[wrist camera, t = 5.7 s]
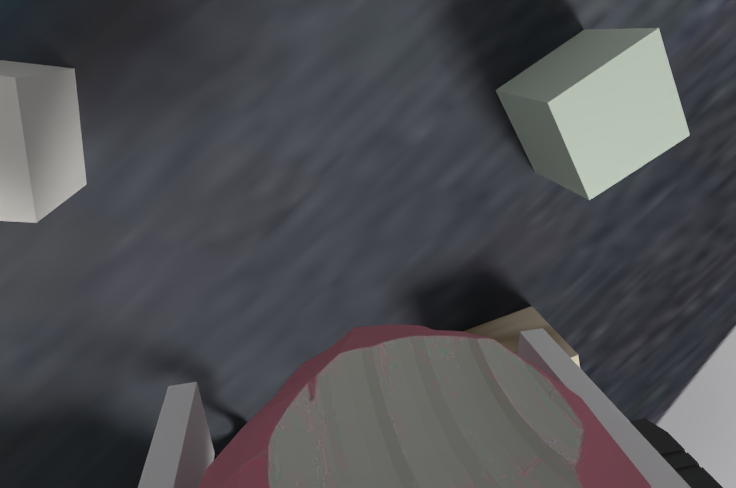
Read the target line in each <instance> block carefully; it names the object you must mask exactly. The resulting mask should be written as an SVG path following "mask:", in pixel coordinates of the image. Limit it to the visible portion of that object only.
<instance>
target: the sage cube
mask: <svg viewBox="0 0 736 488" xmlns="http://www.w3.org/2000/svg"><path fill="white" fill-rule="evenodd" d="M496 92H497V94H498V96H499V98H500V101H501V103H502V105H503V107H504V109H505V111H506V113H507V115H508V117H509V119H510V121H511V124H512V126H513V128H514V130H515V132H516V134H517V136H518V138H519V140H520V142H521V144H522V146H523V149H524V151H525V153H526V155H527V157H528V159H529V161H530V163H531V165H532V167H533V169H534V171H535V172H536V173H538V174H540V175H542V176H544V177H546V178H548V179H550V180H552V181H554V182H556V183H557V184H559V185H561V186H563V187H565V188H567V189H569V190H571V191H573V192H575V193H577V194H579V195H580V196H582V197H584V198H586V199H588V200H591V199H592V198H594V197H595V196H597V195H598V194H600V193H602V192H603V191H605V190H606V189H608V188H609V187H611V186H612V185H614V184H615V183H617V182H618V181H620V180H622V179H623V178H625V177H626V176H628V175H629V174H631V173H632V172H634V171H635V170H637V169H639V168H640V167H642V166H643V165H645V164H646V163H648V162H649V161H651V160H652V159H654V158H656V157H657V156H659V155H660V154H662V153H663V152H665V151H666V150H668V149H669V148H671V147H673V146H674V145H676V144H677V143H679V142H680V141H682V140H683V139H685V138H686V137H688V136H689V135H690V134H689V130H688V127H687V123H686V120H685V117H684V113H683V110H682V106H681V103H680V99H679V96H678V93H677V89H676V86H675V82H674V79H673V75H672V72H671V69H670V65H669V62H668V58H667V55H666V51H665V48H664V44H663V41H662V38H661V34H660V31H659V28H637V29H595V30H583V31H581V32H580V33H578V34H577V35H576V36H574V37H573V38H571V39H570V40H568V41H567V42H565V43H564V44H562V45H561V46H559V47H558V48H557V49H555V50H554V51H552V52H551V53H549V54H548V55H546V56H545V57H543V58H542V59H540V60H539V61H538V62H536V63H535V64H533V65H532V66H530V67H529V68H527V69H526V70H524V71H523V72H521V73H520V74H519V75H517V76H516V77H514V78H513V79H511V80H510V81H508V82H507V83H505V84H504V85H502V86H501V87H499V88H498V89H497V90H496Z"/></svg>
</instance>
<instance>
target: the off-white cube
mask: <svg viewBox="0 0 736 488" xmlns="http://www.w3.org/2000/svg"><path fill="white" fill-rule="evenodd" d="M85 185H86V175H85V165H84V156H83V146H82V136H81V126H80V117H79V107H78V97H77V88H76V78H75V69H74V68H65V67H57V66H48V65H39V64H31V63H22V62H13V61H5V60H0V221H13V222H32V223H37V222H38V221H39V220H41V219H42V218H43V217H45V216H46V215H47V214H49V213H50V212H51V211H52V210H54V209H55V208H56V207H58V206H59V205H60V204H62V203H63V202H64V201H65V200H67V199H68V198H69V197H71V196H72V195H73V194H75V193H76V192H77V191H79V190H80V189H81V188H82V187H84V186H85Z"/></svg>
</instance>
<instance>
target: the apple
mask: <svg viewBox="0 0 736 488" xmlns="http://www.w3.org/2000/svg"><path fill="white" fill-rule="evenodd" d="M198 488H651V485H650V484H649V483H648V482H647V480H646V479H645V478H644V477H643V475H642V474H641V473H640V472H639V470H638V469H637V468H636V467H635V465H634V464H633V463H632V462H631V460H630V459H629V458H628V457H627V455H626V454H625V453H624V452H623V450H622V449H621V448H620V447H619V445H618V444H617V443H616V442H615V440H614V439H613V438H612V437H611V435H610V434H609V433H608V431H607V430H606V429H605V428H604V426H603V425H602V424H601V423H600V421H599V420H598V419H597V417H596V416H595V415H594V414H593V412H592V411H591V410H590V408H589V407H588V406H587V405H586V403H585V402H584V401H583V399H582V398H581V397H579V396H578V395H577V394H575V393H574V392H572V391H571V390H570V389H568V388H567V387H565V386H564V385H562V384H561V383H560V382H558V381H557V380H555V379H554V378H552V377H551V376H550V375H548V374H547V373H545V372H544V371H543V370H541V369H539V368H538V367H536V366H535V365H533V364H532V363H530V362H529V361H527V360H526V359H524V358H522V357H521V356H519V355H518V354H516V353H515V352H513V351H512V350H510V349H509V348H507V347H505V346H504V345H502V344H501V343H499V342H498V341H496V340H495V339H493V338H489V337H484V336H480V335H475V334H470V333H466V332H461V331H446V330H433V329H430V328H428V327H425V326H419V325H379V326H367V327H355V328H353V329H352V330H351V331H350V332H349V333H347V334H346V335H345V336H344V337H343V338H341V339H340V340H339V341H338V342H336V343H335V344H334V345H333V346H332V347H330V348H329V349H328V350H326V351H324V352H322V353H321V354H319V355H317V356H315V357H314V358H312V359H310V360H308V361H306V362H305V363H304V364H303V365H302V366H301V367H300V368H299V369H298V370H297V371H296V372H295V373H294V374H293V375H292V376H291V377H290V378H289V379H288V380H287V381H286V383H285V384H284V385H283V387H282V388H281V389H280V391H279V392H278V393H277V394H276V396H275V397H274V398H273V399H272V400H271V401H270V402H269V403H268V404H266V405H265V406H264V407H263V408H262V409H261V410H260V411H259V412H258V413H257V414H256V415H255V416H254V417H253V418H252V419H251V420H249V421H248V422H247V423H246V424H245V425H244V426H243V427H242V429H241V430H240V431H239V432H238V433H237V434H236V435H235V437H234V438H233V439H232V440H231V441H230V442H229V444H228V445H227V446H226V447H225V448H224V449H223V450H222V452H221V453H220V454H219V455H218V456H217V457H216V459H215V460H214V461H213V462H212V463H211V464H210V465H209V467H208V468H207V469H206V471H205V474H204V476H203V478H202V481H201V483H200V485H199V487H198Z"/></svg>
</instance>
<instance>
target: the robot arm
mask: <svg viewBox="0 0 736 488" xmlns="http://www.w3.org/2000/svg"><path fill="white" fill-rule="evenodd" d="M518 355H519V356H521V357H522V358H524V359H526V360H527V361H529V362H530V363H532V364H533V365H535V366H536V367H538V368H539V369H541V370H543V371H544V372H545V373H547V374H548V375H550V376H551V377H552V378H554V379H555V380H557V381H558V382H560V383H561V384H562V385H564V386H565V387H567V388H568V389H570V390H571V391H572V392H574V393H575V394H577V395H578V396H579V397H581V398H582V399H583V401H584V402H585V403H586V405H587V406H588V407H589V408H590V410H591V411H592V412H593V414H594V415H595V416H596V417H597V419H598V420H599V421H600V423H601V424H602V425H603V426H604V428H605V429H606V430H607V431H608V433H609V434H610V435H611V437H612V438H613V439H614V440H615V442H616V443H617V444H618V445H619V447H620V448H621V449H622V450H623V452H624V453H625V454H626V455H627V457H628V458H629V459H630V460H631V462H632V463H633V464H634V465H635V467H636V468H637V469H638V470H639V472H640V473H641V474H642V475H643V477H644V478H645V479H646V480H647V482H648V483H649V484H650V485H651V488H722V486H721V485H720V484H719V483H718V482H716V480H714V478H713V477H712V476H711V475H710V474H709V473H708V472H706V471H705V470H704V468H701V467H700V466H699V464H698V463H697V461H696V460H695V459H694V458H693V457H692V456H691V455H689V454H688V453H686V452H685V450H684V448H682V446H681V445H680V444H678V442H677V441H676V440H675V439H673V437H672V436H671V435H670V434H668V432H666V431H664V430H663V429H661V428H660V427H658V426H656V425H655V424H653V423H652V422H650V421H648V420H647V419H640V420H634V421H629V420H628V419H627V418H626V417H625V416H624V415H623V414H622V413H621V412H620V411H619V410H618V409H617V407H616V406H615V405H614V404H613V403H612V402H611V401H610V400H609V399H608V398H607V397H606V396H605V395H604V393H603V392H602V391H601V390H600V389H599V388H598V387H597V386H596V385H595V384H594V383H593V382H592V381H591V379H590V378H589V377H588V376H587V375H586V374H585V373H584V372H583V371H582V370H581V369H580V368H579V367H578V365H577V364H576V363H575V362H574V361H573V360H572V359H571V358H570V357H569V356H568V355H567V354H566V353H565V351H564V350H563V349H562V348H561V347H560V346H559V345H558V344H557V343H556V342H555V341H554V340H553V339H552V337H551V336H550V335H549V334H548V333H547V332H546V331H545V330H544V329H543V328H541V329H534V330H528V331H521V332H520V337H519V347H518ZM214 455H215V453H214V449H213V445H212V441H211V437H210V433H209V429H208V425H207V421H206V417H205V413H204V408H203V404H202V400H201V396H200V392H199V388H198V384H197V382H192V383H186V384H179V385H173V386H168V389H167V392H166V396H165V399H164V402H163V406H162V409H161V412H160V416H159V419H158V422H157V426H156V429H155V432H154V436H153V439H152V442H151V445H150V449H149V452H148V455H147V459H146V462H145V465H144V469H143V472H142V475H141V479H140V482H139V485H138V488H198V487H199V485H200V483H201V481H202V478H203V476H204V474H205V471H206V469H207V468H208V467H209V465H210V464H211V463H212V462H213V461H214Z"/></svg>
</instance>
